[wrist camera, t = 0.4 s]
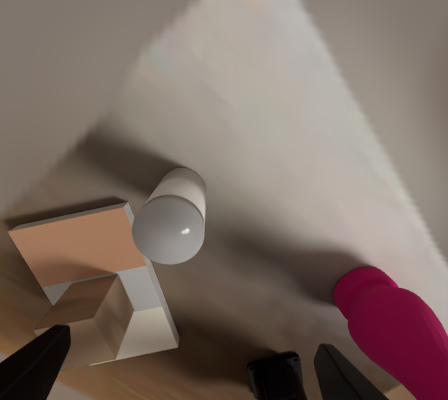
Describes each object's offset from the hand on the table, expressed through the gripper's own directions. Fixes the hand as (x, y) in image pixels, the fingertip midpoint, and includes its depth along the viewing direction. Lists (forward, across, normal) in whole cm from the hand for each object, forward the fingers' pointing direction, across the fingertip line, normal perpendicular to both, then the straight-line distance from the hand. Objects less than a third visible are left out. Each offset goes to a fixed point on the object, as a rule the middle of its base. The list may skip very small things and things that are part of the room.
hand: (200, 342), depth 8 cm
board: (+14, +9, +10) cm, 19 cm away
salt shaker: (+14, +2, -1) cm, 14 cm away
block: (+12, +9, +10) cm, 18 cm away
